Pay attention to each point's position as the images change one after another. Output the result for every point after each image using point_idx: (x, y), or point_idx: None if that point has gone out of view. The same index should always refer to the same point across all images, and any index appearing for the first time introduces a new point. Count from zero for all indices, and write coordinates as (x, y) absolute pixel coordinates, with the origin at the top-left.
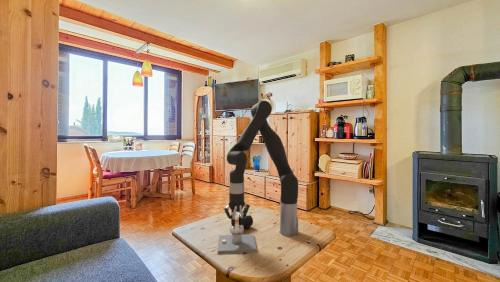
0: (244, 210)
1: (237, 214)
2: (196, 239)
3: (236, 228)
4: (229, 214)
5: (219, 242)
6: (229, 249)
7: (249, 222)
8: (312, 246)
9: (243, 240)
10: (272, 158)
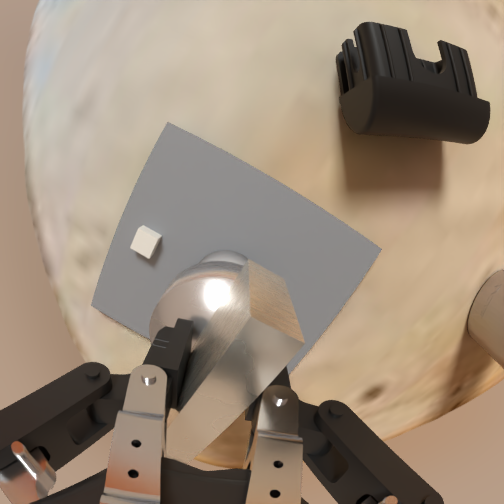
0: (356, 458)
1: (273, 354)
2: (58, 91)
3: None
4: (81, 445)
5: (124, 225)
6: (148, 329)
7: (445, 140)
8: (439, 411)
9: None
10: None
